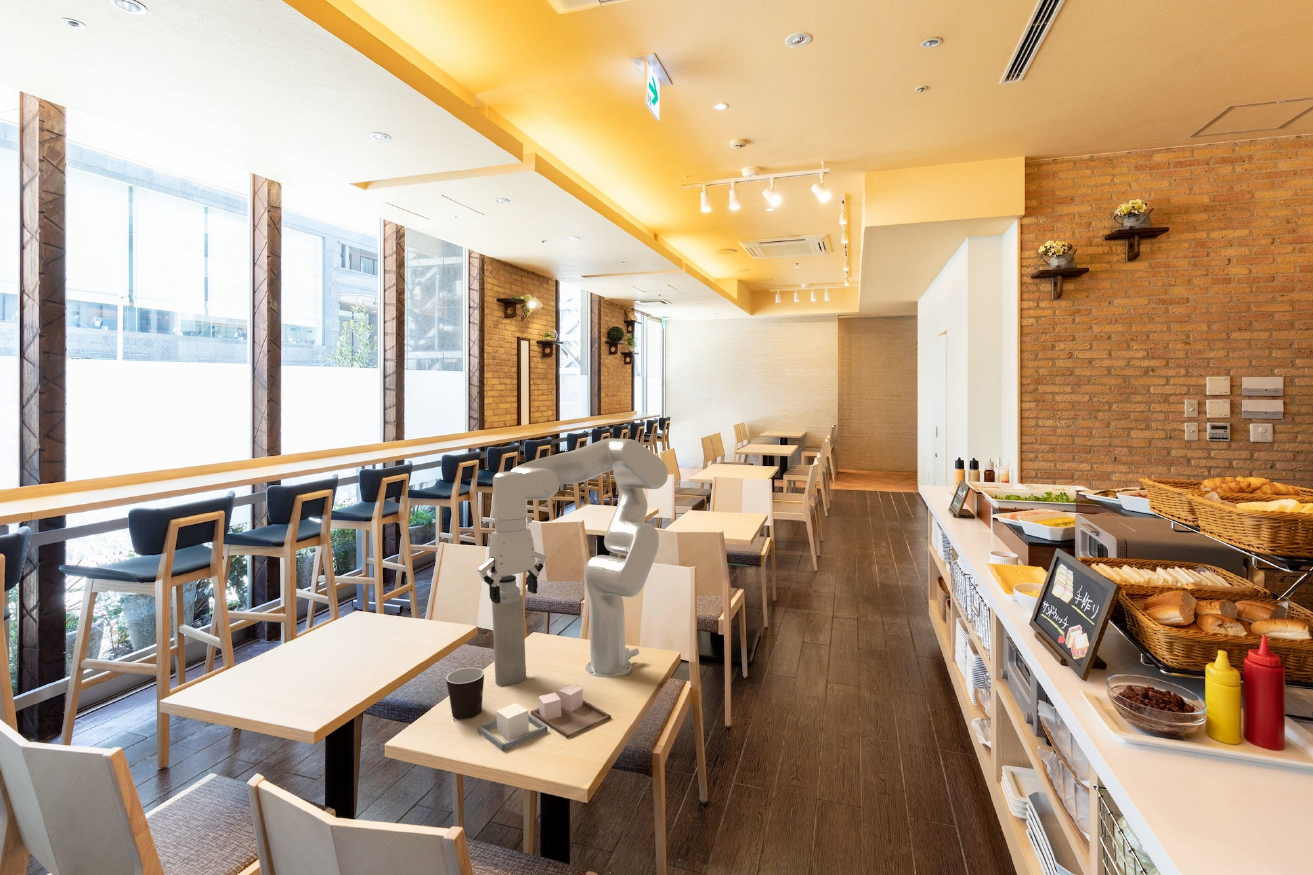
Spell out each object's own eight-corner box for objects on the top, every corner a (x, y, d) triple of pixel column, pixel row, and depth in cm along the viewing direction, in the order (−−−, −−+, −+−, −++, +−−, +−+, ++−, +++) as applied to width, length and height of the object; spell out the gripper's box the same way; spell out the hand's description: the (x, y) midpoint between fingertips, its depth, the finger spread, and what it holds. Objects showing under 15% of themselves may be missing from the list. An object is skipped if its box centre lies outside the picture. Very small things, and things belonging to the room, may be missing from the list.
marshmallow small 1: (571, 700, 155) (570, 684, 155) (583, 704, 153) (582, 688, 152) (559, 706, 152) (558, 690, 152) (571, 711, 149) (570, 695, 149)
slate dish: (521, 718, 149) (521, 709, 149) (547, 735, 141) (547, 726, 141) (478, 736, 142) (477, 726, 141) (503, 755, 133) (502, 745, 133)
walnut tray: (573, 700, 157) (572, 694, 157) (611, 722, 146) (610, 715, 146) (530, 718, 149) (530, 711, 149) (567, 742, 138) (567, 735, 138)
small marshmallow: (555, 708, 151) (555, 692, 151) (561, 716, 147) (560, 699, 147) (539, 713, 149) (538, 696, 149) (544, 720, 146) (544, 703, 145)
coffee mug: (475, 727, 145) (473, 684, 145) (441, 724, 147) (438, 682, 147) (497, 702, 157) (496, 663, 156) (465, 700, 159) (463, 661, 158)
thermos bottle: (505, 672, 174) (500, 571, 173) (531, 675, 172) (527, 573, 170) (489, 685, 167) (485, 580, 165) (516, 688, 164) (512, 581, 163)
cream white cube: (516, 724, 145) (516, 702, 144) (528, 732, 141) (528, 710, 141) (497, 732, 141) (496, 710, 141) (509, 741, 138) (508, 718, 137)
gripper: (535, 517, 156) (537, 585, 158) (469, 528, 145) (472, 602, 146) (551, 521, 151) (554, 592, 152) (484, 533, 139) (488, 610, 140)
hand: (514, 597), depth 149 cm, fingers open, 9 cm apart
